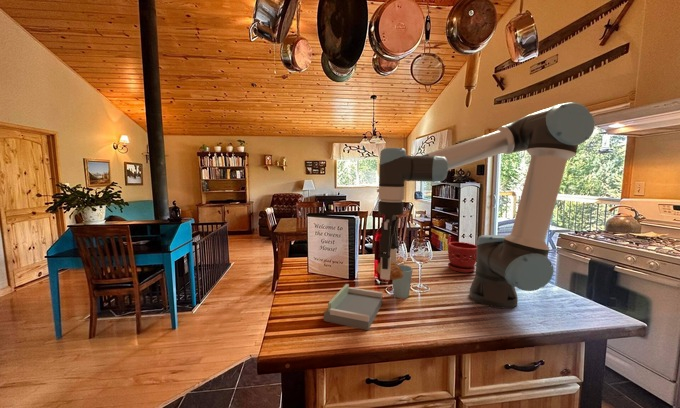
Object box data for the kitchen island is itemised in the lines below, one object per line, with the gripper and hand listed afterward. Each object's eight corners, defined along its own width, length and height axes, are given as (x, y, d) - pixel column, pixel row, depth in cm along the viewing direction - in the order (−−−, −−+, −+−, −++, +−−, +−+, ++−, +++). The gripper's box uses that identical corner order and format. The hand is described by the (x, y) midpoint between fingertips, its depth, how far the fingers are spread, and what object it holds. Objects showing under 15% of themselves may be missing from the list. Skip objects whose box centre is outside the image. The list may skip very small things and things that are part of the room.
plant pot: (465, 276, 123) (466, 249, 121) (441, 267, 134) (442, 243, 133) (483, 271, 129) (485, 245, 128) (459, 263, 140) (460, 240, 139)
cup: (416, 297, 101) (417, 269, 100) (399, 301, 98) (399, 272, 97) (403, 289, 108) (404, 263, 107) (386, 293, 105) (387, 266, 104)
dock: (382, 303, 97) (382, 288, 96) (368, 330, 80) (368, 311, 80) (344, 297, 102) (344, 282, 101) (323, 321, 85) (323, 303, 85)
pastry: (409, 280, 82) (409, 267, 82) (388, 282, 80) (389, 269, 79) (392, 269, 91) (393, 258, 90) (374, 272, 88) (374, 260, 88)
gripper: (385, 197, 95) (383, 261, 98) (369, 203, 75) (367, 284, 77) (408, 198, 93) (405, 264, 95) (397, 204, 72) (394, 288, 75)
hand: (388, 273), depth 86 cm, fingers closed on pastry, 9 cm apart
